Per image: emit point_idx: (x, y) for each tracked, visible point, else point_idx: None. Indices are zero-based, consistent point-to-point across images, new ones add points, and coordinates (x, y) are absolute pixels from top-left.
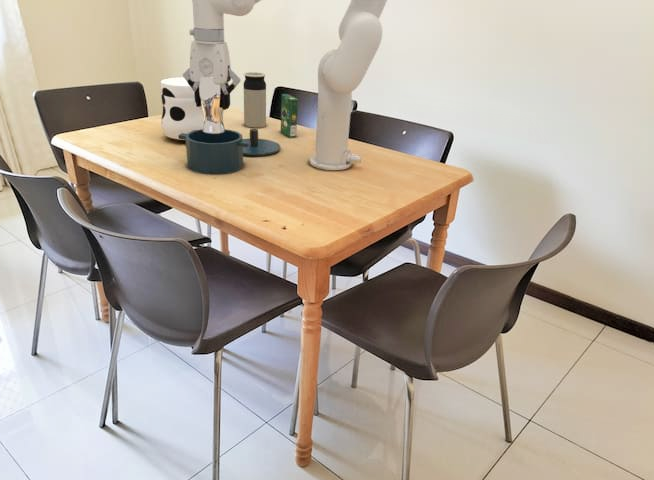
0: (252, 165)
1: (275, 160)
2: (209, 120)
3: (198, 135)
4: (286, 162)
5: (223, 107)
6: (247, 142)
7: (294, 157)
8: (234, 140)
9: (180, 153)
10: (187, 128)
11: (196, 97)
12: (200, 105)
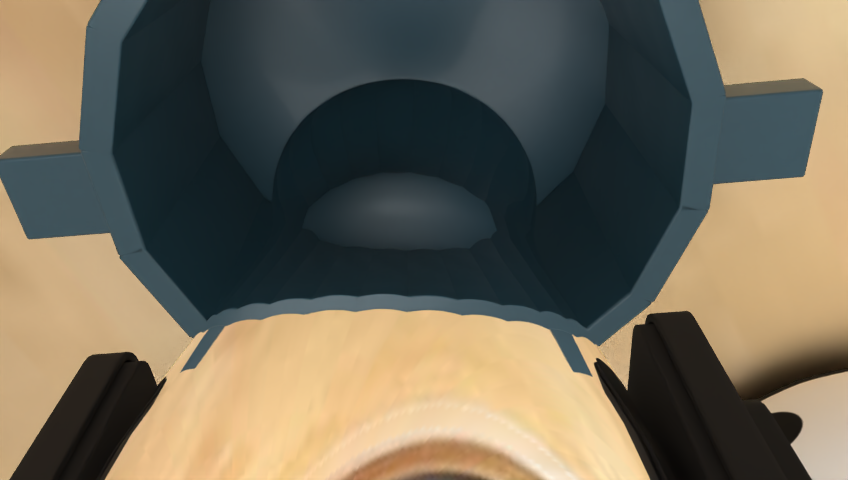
0: None
1: (107, 344)
2: (379, 162)
3: (634, 237)
4: (23, 340)
5: (95, 374)
6: (31, 199)
7: None
8: (111, 131)
9: (778, 196)
10: (838, 444)
11: (743, 443)
12: (631, 379)
